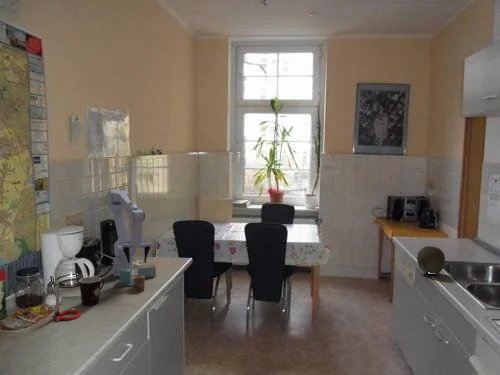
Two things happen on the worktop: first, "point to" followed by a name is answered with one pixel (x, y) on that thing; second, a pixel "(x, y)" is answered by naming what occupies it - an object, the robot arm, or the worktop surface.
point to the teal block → (125, 276)
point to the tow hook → (59, 314)
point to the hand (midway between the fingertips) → (137, 262)
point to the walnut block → (139, 282)
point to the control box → (147, 270)
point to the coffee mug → (90, 290)
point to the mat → (117, 284)
